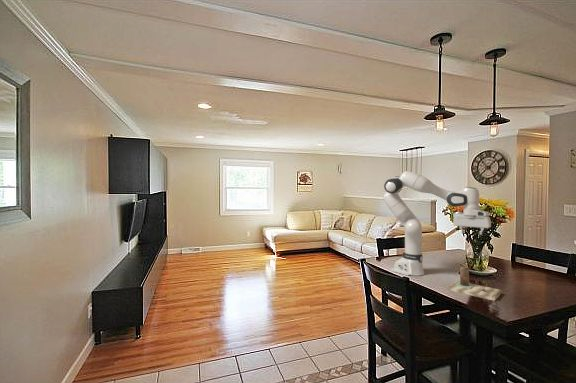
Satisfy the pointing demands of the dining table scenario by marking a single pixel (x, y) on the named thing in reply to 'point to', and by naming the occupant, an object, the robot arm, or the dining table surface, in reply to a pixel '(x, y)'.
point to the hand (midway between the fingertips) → (471, 233)
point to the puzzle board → (477, 291)
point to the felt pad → (464, 286)
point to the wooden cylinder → (464, 276)
